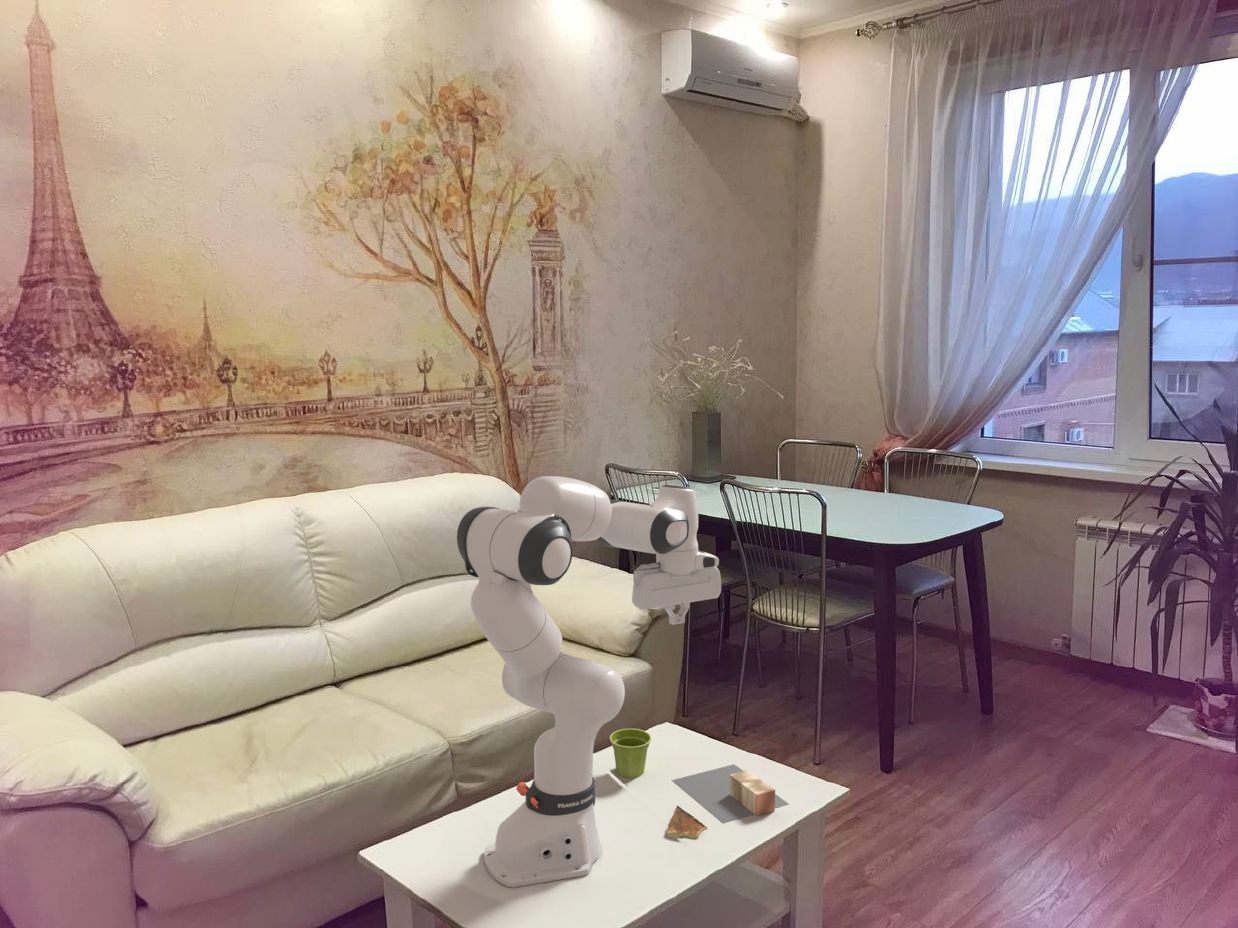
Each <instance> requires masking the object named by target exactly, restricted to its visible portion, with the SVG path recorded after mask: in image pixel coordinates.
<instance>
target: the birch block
mask: <svg viewBox="0 0 1238 928" xmlns="http://www.w3.org/2000/svg"><path fill="white" fill-rule="evenodd" d="M775 794H776V789H775V788H773V787H772V786H770V785H769V784H768V783H766V782H764V781H763V780H762V779H761V778H759V777H758V776H757V775H755V774H753V773H752V772H751V771H750V770H743V771H742V772H738V773H734V774H730V795H731V796H732V797H733V798H735V799H736V800H737V801H739V802H740V803H741V804H742V805H744V806H745V807H746V808H748V809H749V810H750V811H751V812H753V813H754V815H755V816H760V815H764V814H768V813H771V812H775V811H776V808H775Z"/></svg>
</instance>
